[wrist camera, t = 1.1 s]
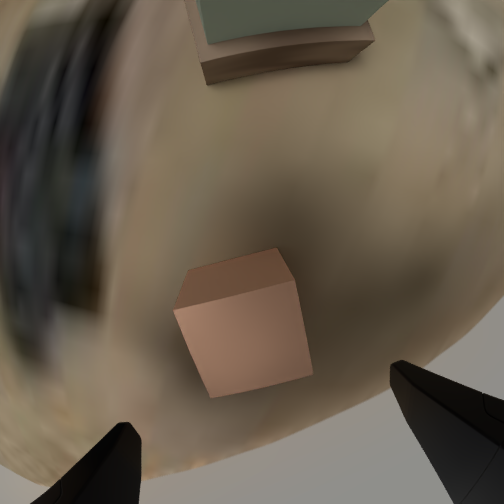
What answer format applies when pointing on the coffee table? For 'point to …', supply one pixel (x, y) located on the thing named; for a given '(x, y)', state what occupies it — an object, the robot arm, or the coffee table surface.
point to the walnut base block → (275, 48)
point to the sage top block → (279, 15)
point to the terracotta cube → (244, 323)
